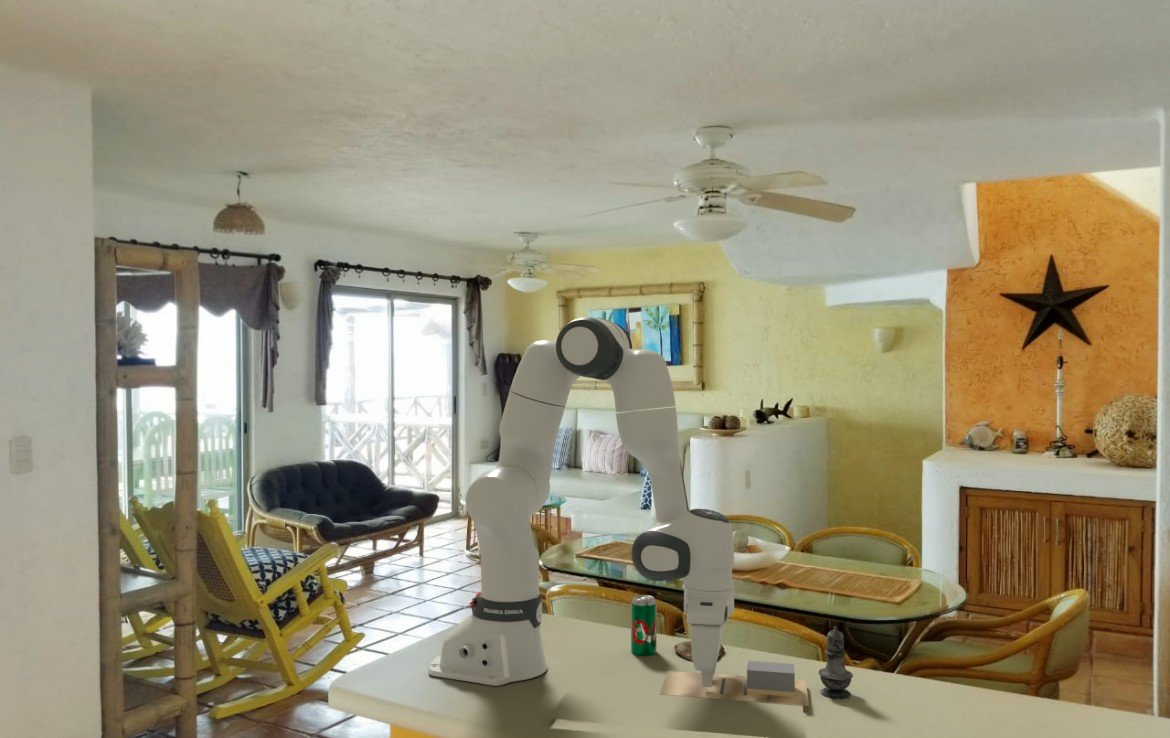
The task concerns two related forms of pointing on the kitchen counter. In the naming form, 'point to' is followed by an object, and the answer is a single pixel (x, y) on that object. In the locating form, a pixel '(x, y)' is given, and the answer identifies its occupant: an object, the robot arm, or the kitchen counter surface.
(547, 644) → the kitchen counter surface
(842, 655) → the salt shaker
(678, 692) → the board
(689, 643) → the oyster shell
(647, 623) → the soda can
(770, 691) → the block
